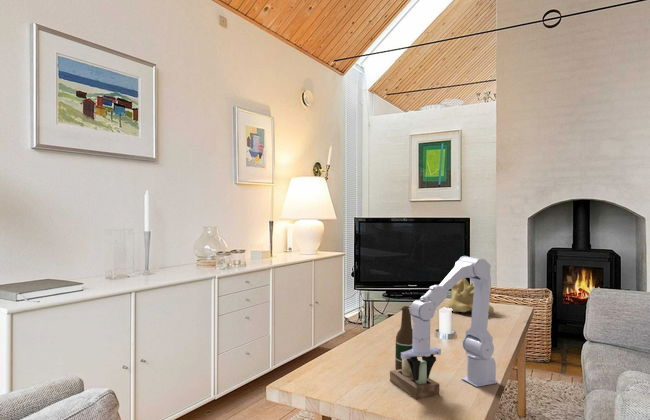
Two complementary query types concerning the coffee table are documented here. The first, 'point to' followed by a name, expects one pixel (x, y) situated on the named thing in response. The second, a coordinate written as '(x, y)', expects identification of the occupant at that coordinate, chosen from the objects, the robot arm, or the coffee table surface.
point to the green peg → (422, 373)
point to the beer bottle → (403, 337)
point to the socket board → (414, 385)
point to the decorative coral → (463, 297)
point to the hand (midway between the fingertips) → (420, 378)
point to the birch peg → (406, 368)
